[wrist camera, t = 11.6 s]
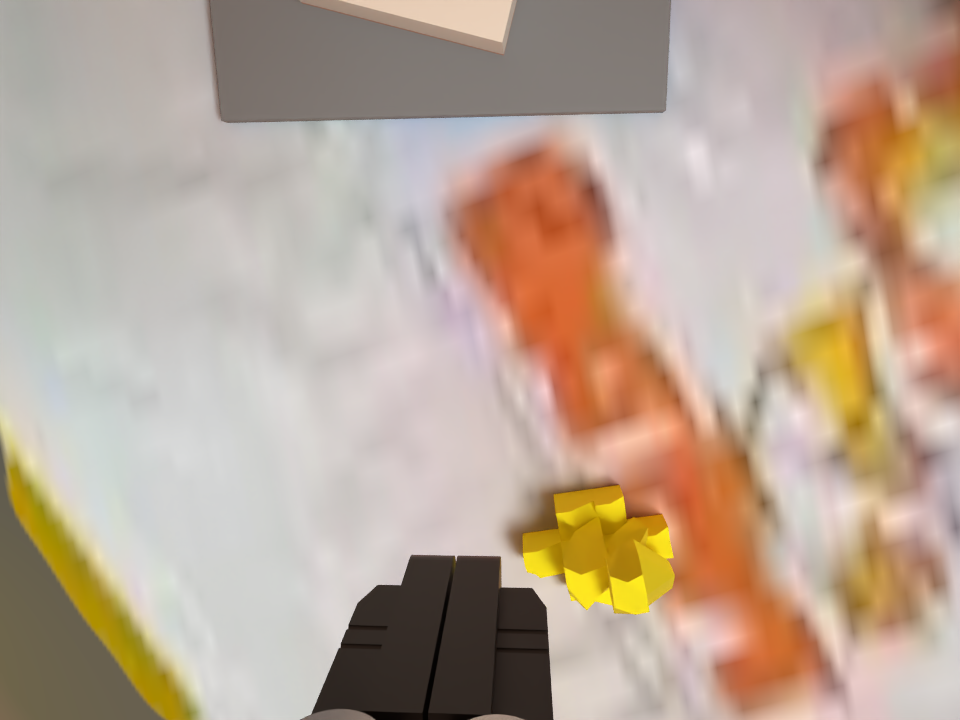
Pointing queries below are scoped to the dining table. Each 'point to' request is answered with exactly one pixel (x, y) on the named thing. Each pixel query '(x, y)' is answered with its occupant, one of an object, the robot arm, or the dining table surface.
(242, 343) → the dining table surface
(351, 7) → the tile
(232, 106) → the mat
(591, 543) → the crumpled paper
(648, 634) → the dining table surface
